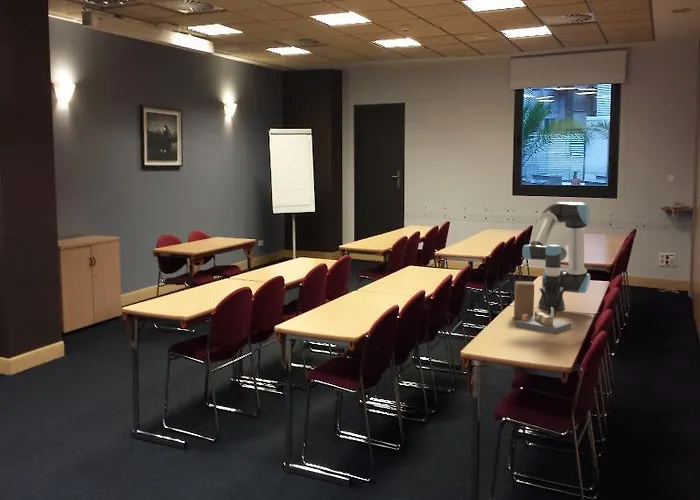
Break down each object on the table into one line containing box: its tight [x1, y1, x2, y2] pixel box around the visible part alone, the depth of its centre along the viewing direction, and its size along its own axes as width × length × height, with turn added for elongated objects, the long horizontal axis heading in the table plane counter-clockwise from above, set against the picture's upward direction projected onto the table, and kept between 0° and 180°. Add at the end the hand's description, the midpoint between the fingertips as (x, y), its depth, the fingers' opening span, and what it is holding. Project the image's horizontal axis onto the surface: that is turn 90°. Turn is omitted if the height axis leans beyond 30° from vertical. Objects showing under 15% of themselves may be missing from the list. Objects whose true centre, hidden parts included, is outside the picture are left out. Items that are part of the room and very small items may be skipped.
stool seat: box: [515, 314, 572, 335], centre depth 345 cm, size 17×22×6 cm
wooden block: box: [513, 280, 535, 320], centre depth 366 cm, size 10×10×20 cm
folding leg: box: [534, 310, 553, 325], centre depth 346 cm, size 17×4×4 cm, turn 7°
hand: (551, 320), depth 342 cm, fingers closed
